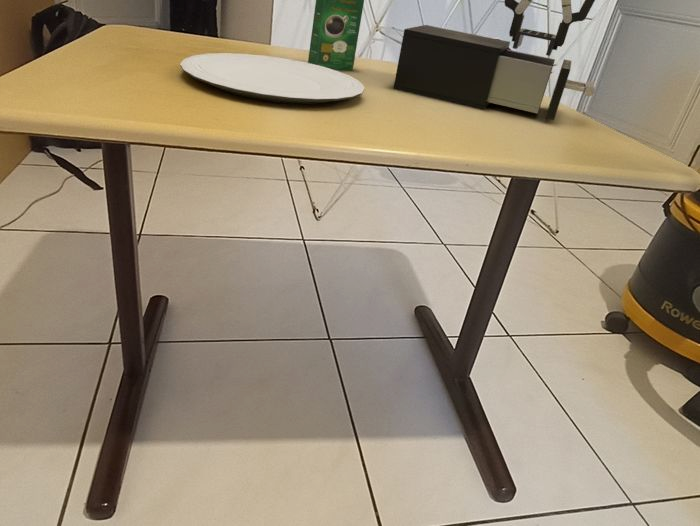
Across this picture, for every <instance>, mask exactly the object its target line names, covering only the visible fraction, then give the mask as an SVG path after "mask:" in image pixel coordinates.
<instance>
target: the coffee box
mask: <svg viewBox="0 0 700 526" xmlns="http://www.w3.org/2000/svg"><path fill="white" fill-rule="evenodd" d="M364 5H365V0H315V5H314V13H313V21H312V28H311V34H310V43H309V50H308V58H307V59H308V60H307V63H310V64H314V65H319V66H323V67H326V68H329V69H333V70H336V71H344V72H345V71H346V72H347V71H349V72H353V71H354V66H355V60H356V52H357V46H358V42H359V41H358V40H359V33H360V28H361V22H362V16H363V11H364V10H363V9H364Z"/></svg>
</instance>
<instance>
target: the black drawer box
mask: <svg viewBox="0 0 700 526" xmlns="http://www.w3.org/2000/svg"><path fill="white" fill-rule="evenodd" d="M510 45H511V41H508V40H502V39H497V38H493V37H487V36H483V35H478V34H473V33H467V32H463V31H459V30H458V31H457V30H453V29H448V28H443V27H439V26H433V25H428V24H423V25H419V26H414V27H408V28H404V30H403V35H402V40H401V46H400V51H399V56H398V61H397V66H396V73H395V78H394V82H393V90H396V91H401V92H405V93H410V94H413V95H418V96H422V97H426V98H432V99H435V100H439V101H444V102H449V103H452V104H456V105H460V106H465V107H470V108H473V109H479V110H483V111H484V110H486V109H487V107H488V106H489V105H490V103H489V102H487V99H488V95H489V91H490V87H491V84H492V80H493V76H494V73H495V69H496V65H497V61H498V58H499V54H500V53H501V52H502V51H504V50H505V49H507V50H509V49H510Z"/></svg>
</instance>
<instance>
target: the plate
mask: <svg viewBox="0 0 700 526" xmlns="http://www.w3.org/2000/svg"><path fill="white" fill-rule="evenodd" d="M179 65H180V68H181V69H182V71H183V72H184V73H185V74H187V75H188V76H190V77H192V78H193V79H195V80H198V81H199V82H202V83H205V84H208V85H211V86H213V87H215V88H217V89H219V90H221V91H224V92H227V93H230V94H233V95H238V96H241V97H245V98H249V99H254V100H255V99H256V100H261V101H267V102H273V103H274V102H275V103H282V104H298V105H312V104H313V105H314V104H315V105H316V104H324V103H330V102H337V101H345V100H352V99H354V98H356V97H359V96H361V95H363V93H364V91H365V87H364V85H363V84H362V83H361V81H360V80H358V79H356V78H355V77H353V76H351V75H349V74H347V73H344V72H341V71H340V70H333V69H329V68H326V67H323V66H319V65H314V64H310V63H308V62H306V61H301V60H296V59H290V58H284V57H276V56H270V55H263V54H252V53H251V54H249V53H237V52H236V53H234V52H214V53H213V52H212V53H210V52H209V53H201V54H194V55H191V56H188V57H185V58H183V60H181V62H180V64H179Z"/></svg>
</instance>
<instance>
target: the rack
mask: <svg viewBox="0 0 700 526" xmlns="http://www.w3.org/2000/svg"><path fill="white" fill-rule="evenodd" d="M524 37H530V38H536V39H540V40H545V41H549V44H548V46H547V50H546V53H545V55H546V56H549V57H551V54H552V53H553V51H554V50H553V46H554V42H555V39H556V34H554V33H548V32H543V31H538V30H534V29H527V28H523V27H521V29H520V30H518V31H517V34H516V37H515V41H513V45H512V49H514V50H515V49H516V50H517V49H518V48H520V46H521V45H522V43H523V40H524Z"/></svg>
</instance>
